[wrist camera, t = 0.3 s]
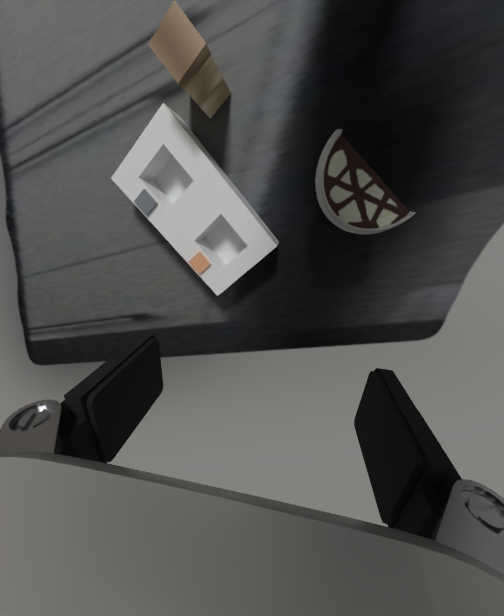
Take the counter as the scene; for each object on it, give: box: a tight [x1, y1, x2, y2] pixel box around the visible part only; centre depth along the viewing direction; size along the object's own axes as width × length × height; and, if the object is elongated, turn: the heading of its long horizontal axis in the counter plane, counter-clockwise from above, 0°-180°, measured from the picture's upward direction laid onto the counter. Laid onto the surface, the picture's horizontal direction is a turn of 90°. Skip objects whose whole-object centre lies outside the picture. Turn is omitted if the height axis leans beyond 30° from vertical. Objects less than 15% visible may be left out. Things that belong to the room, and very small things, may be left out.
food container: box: [315, 129, 416, 234], centre depth 29 cm, size 12×6×10 cm, turn 48°
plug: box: [148, 0, 231, 119], centre depth 27 cm, size 4×4×10 cm
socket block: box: [111, 103, 279, 296], centre depth 35 cm, size 12×22×5 cm, turn 41°
